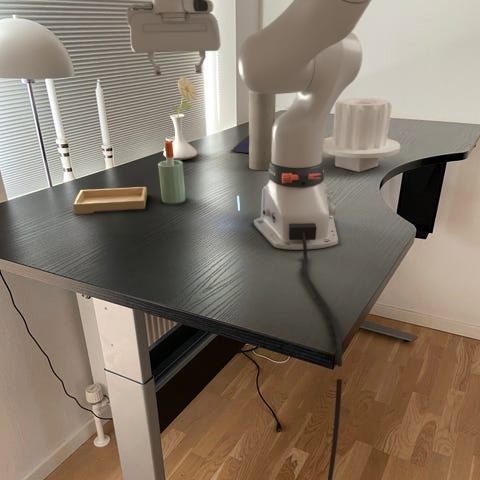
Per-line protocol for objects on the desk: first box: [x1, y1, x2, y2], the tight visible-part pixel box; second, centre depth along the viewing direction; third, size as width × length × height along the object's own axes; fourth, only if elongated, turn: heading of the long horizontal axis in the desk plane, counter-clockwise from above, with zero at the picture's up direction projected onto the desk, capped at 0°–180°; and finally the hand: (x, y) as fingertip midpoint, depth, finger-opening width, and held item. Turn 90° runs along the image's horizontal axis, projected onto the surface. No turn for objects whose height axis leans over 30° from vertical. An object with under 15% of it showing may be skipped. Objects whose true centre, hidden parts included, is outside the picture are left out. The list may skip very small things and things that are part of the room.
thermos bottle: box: [248, 89, 277, 171], centre depth 145 cm, size 8×8×28 cm
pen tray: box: [72, 186, 148, 215], centre depth 124 cm, size 11×17×3 cm, turn 97°
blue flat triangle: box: [230, 135, 249, 154], centre depth 176 cm, size 24×30×4 cm
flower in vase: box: [163, 76, 198, 161], centre depth 157 cm, size 13×11×25 cm
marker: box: [163, 140, 174, 166], centre depth 122 cm, size 2×2×14 cm
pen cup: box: [157, 160, 187, 204], centre depth 124 cm, size 6×6×10 cm
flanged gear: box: [323, 97, 401, 173], centre depth 147 cm, size 25×25×19 cm
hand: (178, 74), depth 112 cm, fingers open, 8 cm apart
